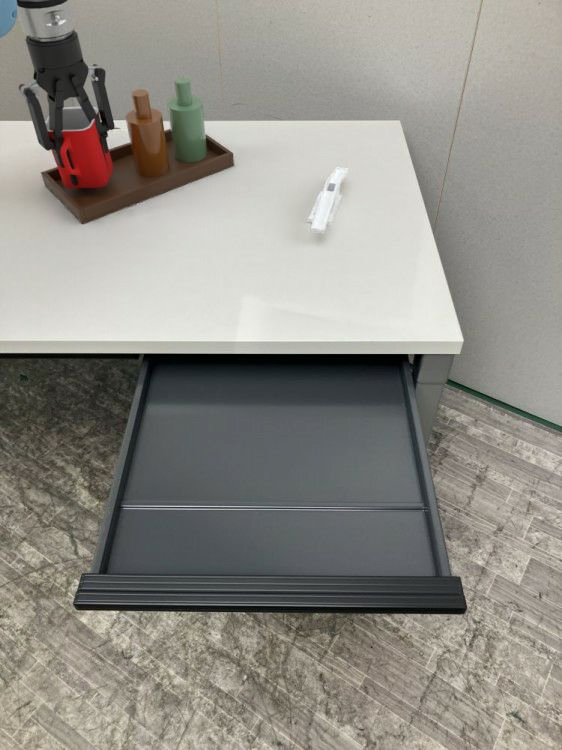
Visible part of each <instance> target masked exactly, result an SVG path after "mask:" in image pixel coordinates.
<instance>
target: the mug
mask: <svg viewBox="0 0 562 750" xmlns="http://www.w3.org/2000/svg"><path fill="white" fill-rule="evenodd" d="M93 108H94V110H95V112H96V114H97V116H98V118H99V120H100V122H102V121H101V118H100V114H99V110H98V106H97V107H96V106H93ZM45 124H46V127H47V131H48V134H49V138H50V139H51V140H53V139H52V137H53V132H54V131H53V130H49V115H48V116H47V117H46V120H45ZM61 132H62V134H63V145H62V147H61V151H60V153H61V157H62V160H63V163H64V166H65V168H62V167H61V166H59V164H58V163H57V161H56V158H55V154H54V151H53V150H51V153H52V156H53V158H54V162H55V164H56V167H58V170H59V172H60V175H61V178H62V181H63V183H64V186H65V187H67V188H99V187H103V186H105V185H106V184H107V183H108V180H109V178H110V175H111V173H112V170H113V163H112V160H111V156H110V153H109V151H108V153H105V151H104V153H105V157H106V161H105V157H104V154H103V151H102V147H101V144H100V141H99V138H101V137H100V135H99V133H98V131H97V129H96V126H95V119H93V120H92V121H91V123H89V121H88V119H87V117H86V115H85V114H84V112H83V110H82V108H81V106H64V108H63V131H61ZM102 145H103V144H102ZM67 149H68V150H69V153H70V156H71V160H72V163H73V167H74V169H72V168H71V166H70V164H69V161H68V158H67V155H66V151H67ZM103 149H104V148H103ZM106 162H107V164H106ZM107 166H108V167H107ZM108 170H109V171H108ZM69 174H71V175H76V178H77V181H78V185H76V186H74V185H73V184H72V182H71V179H70V175H69Z"/></svg>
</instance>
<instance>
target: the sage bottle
mask: <svg viewBox="0 0 562 750" xmlns="http://www.w3.org/2000/svg"><path fill="white" fill-rule="evenodd" d="M173 82H174V89H175V96H173V97H172V98H170V99H169V100H168V101H167V102H166V103H167V104H166V105H167V113H168V120H169V127H170V128H169V129H171V135H172V143H173V150H174V156H175V158H176V159H177V160H179V161H182V162H197V161H200V160H202V159H204V158H205V157H206V156H207V146H206V135H207V134H206V124H205V116H204V105H203V104H204V103H203V100H202V99H201V98H200V97H199V96H195V95H192V94H193V93H192V84H191V78H189V77H188V76H187V77H186V76H180V77H176V78H174V80H173ZM205 134H206V135H205Z"/></svg>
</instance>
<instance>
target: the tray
mask: <svg viewBox="0 0 562 750" xmlns="http://www.w3.org/2000/svg"><path fill="white" fill-rule="evenodd" d="M164 131H165V138H166V145H167V152H168V159H169V165H170V168H169V170H168V171H167V172H166V173H165V174H163V175H160V176H155V177H146V176H142V175H139V174H138V173H137V172H136V170H135V164H134V159H133V154H132V149H131V144H130V142H127V143H124V144H121V145H118V146H115V147H112V148H109V153H110V156H111V160H112V163H113V170H112V173H111V175H110V178H109V180H108V183H107V184H106V185H105V186H103V187H99V188H67V187H65V186H64V183H63V181H62V178H61V175H60V172H59V170H58V167H57V166H56V167H53V168H49V169H46V170H43V171H40V175H41V177H42V180H43V181H42V182H43V184H44V186H45V187H46V188H47V189H48V190H49V191H50V193H52V195H53V196H54V197H56V199H58V201H59V202H60V203H62V204H63V206H64V207H65V208H66V209H67V210H68V211H69V212H70V213H71V214H72V215H73V216H74V217H75V218H76V219H77V220H78V221H79V222H80V224H82V225H85V224H87V223H89V222H92V221H95V220H97V219H101V218H102V217H105V216H107V215H110V214H113V213H116V212H118V211H121V210H123V209H126V208H128V207H131V206H133V205H135V204H140V203H141V202H144V201H147V200H149V199H152V198H154V197H157V196H160V195H162V194H164V193H167V192H170V191H172V190H175V189H177V188H180V187H183V186H185V185H188V184H190V183H192V182H196V181H198V180H201V179H203V178H206V177H208V176H211V175H214V174H216V173H219V172H222V171H224V170H227V169H229V168H232V167H234V166H235V163H234V162H235V159H234V158H235V157H234V152H232V151H231V150H230V149H228V148H226V147H225V146H224V145H222V144H221V143H220V142H218V140H217V141H216V140H215V139H214V138H212V137H211V136H209V135H208V134H207V133H205V135H206V146H207V156H206V157H205V158H204V159H202V160H200V161H197V162H182V161H179V160H177V159H176V158H175V156H174V150H173V143H172V135H171V128H169V129H164Z"/></svg>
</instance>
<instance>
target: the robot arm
mask: <svg viewBox="0 0 562 750" xmlns="http://www.w3.org/2000/svg"><path fill="white" fill-rule="evenodd" d="M72 9H73V8H72V5H71V0H0V39H1V38H3V37H5V36H6V35H7V34H9V33H10V32H11V31H12V30H13V28H14V26H15V24H16V22H17V18H18V20H19V24H20V27H21V30H22V33H23V34H24V35H26V37H25V44H26V47H27V50H28V53H29V57H30V60H31V65H32V66H33V75H32V76H33V77H32V80H31V81H29V82H28V83H26V84H25V83H21V84H19V86H18V90H19V91H20V93H21V95H22V96H23V98H24V99H25V101H26V104H27V108H28V111H29V114H30V115H29V116H30V118H31V120H32V124H33V128H34V131H35V135H36V139H37V143H38V144H39V145H40V147H42V148H43V149H44V150H45V151H49V152H50V151H52V150H53V151H54V154H55V158H56V161H57V163H58V164H59V166H61V167H62V168H65V166H64V163H63V160H62V157H61V153H60V151H61V147H62V145H63V134H62V132H61V131H63V108H64V107H65V105H64V104H65V101H67V100H69V99H70V98H75V99H76V101H77V103H78V104H79V107H81V108H82V110H83V112H84V114H85V115H86V117H87V119H88V121H89V123H91V121H92V120H93V119H95V126H96V129H97V131H98V133H99V135H100V137H101V138H99V141H100V144H101V147H102V151H103V154H104V157H105V153H108V151H109V149H110V148H109V145H108V140H107V138H108V137H109V131H112V130H113V131H114V129H115V127H116V126H115V121H114V116H113V113H112V108H111V104H110V100H109V97H108V92H107V88H106V73H107V72H106V70H105V69H104V68H103V67H101V66H100V65H98V64H97V63H94V64H92V65H87V63H86V62H85V61H84V56H83V51H82V47H81V43H80V38H79V34H78V32H77V31H75V29H76V22H75V17H74V13H73V10H72ZM87 78H89V80H91V86H92V89H93V93H94V98H95V102H96V106H97V108H98V110H99V117H100V120H99V118H98V116H97V114H96V112H95V110H94V108H93V107H94V106H93V105H92V103H91V101H90V99H89V96H88V94H87V92H86V90H85V88H84V87H85V84H86V81H87ZM39 89H42V90H43V91H44V92H46V99H47V103H48V116H49V130H53V131H54V132H53V137H52V139H53V140H51V139H50V138H49V134H48V131H47V127H46V124H45V121H46V120H45V116H44V112H43V108H42V106H41V103H40V101H39V99H38V98H39V97H40V93H39ZM100 121H101V122H100ZM102 144H103V145H102ZM103 148H104V149H103ZM104 151H105V153H104ZM66 155H67V158H68V161H69V164H70V166H71V168H72V169H74V167H73V163H72V160H71V156H70V153H69V150H68V149H67V151H66ZM56 161H55V162H56ZM105 161H106V157H105ZM106 164H107V162H106ZM107 167H108V166H107ZM108 171H109V170H108ZM69 175H70V179H71V182H72V184H73V185H74V186H76V185H78V181H77V178H76V175H71V174H69Z"/></svg>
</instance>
